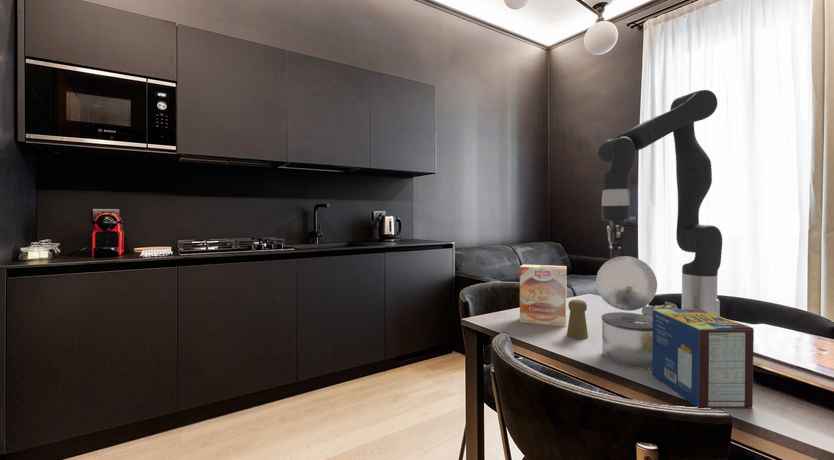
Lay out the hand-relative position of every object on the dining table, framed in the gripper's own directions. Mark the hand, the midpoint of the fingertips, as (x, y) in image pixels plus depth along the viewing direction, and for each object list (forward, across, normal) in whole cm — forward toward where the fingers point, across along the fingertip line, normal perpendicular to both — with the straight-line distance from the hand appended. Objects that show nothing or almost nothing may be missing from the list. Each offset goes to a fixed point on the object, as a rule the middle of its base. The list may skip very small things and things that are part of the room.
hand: (614, 261), depth 117 cm
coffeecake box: (+23, +8, +21) cm, 32 cm away
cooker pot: (+23, -20, -1) cm, 30 cm away
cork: (+23, -5, +11) cm, 26 cm away
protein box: (+23, -36, -10) cm, 44 cm away
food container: (+23, -1, -13) cm, 26 cm away
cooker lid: (+5, -12, -1) cm, 12 cm away
